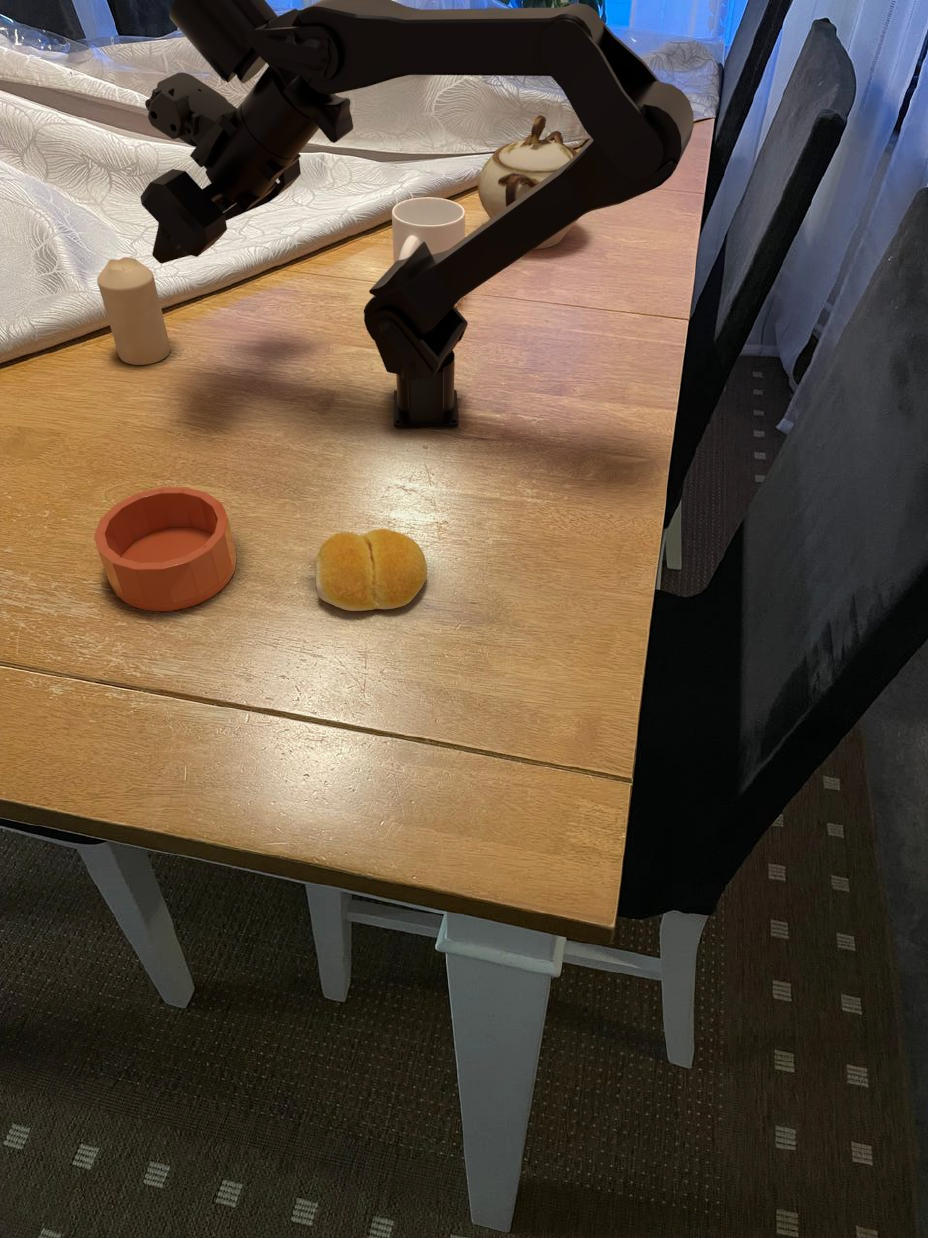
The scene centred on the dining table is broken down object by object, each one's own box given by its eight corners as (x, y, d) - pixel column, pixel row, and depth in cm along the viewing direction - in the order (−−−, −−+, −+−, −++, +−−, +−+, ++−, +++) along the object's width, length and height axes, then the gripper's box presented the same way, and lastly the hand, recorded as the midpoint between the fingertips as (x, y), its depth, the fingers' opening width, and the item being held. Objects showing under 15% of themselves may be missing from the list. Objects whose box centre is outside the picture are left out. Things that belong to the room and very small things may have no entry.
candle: (144, 370, 93) (119, 279, 86) (107, 356, 95) (80, 265, 88) (181, 349, 96) (161, 259, 89) (145, 335, 98) (122, 246, 91)
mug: (433, 334, 100) (433, 244, 92) (369, 319, 102) (363, 230, 95) (473, 291, 108) (476, 204, 100) (412, 278, 110) (410, 192, 102)
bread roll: (433, 610, 69) (433, 573, 66) (319, 621, 68) (313, 584, 65) (420, 541, 75) (419, 504, 72) (314, 551, 74) (309, 514, 71)
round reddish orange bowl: (227, 610, 69) (216, 568, 65) (97, 612, 68) (80, 570, 65) (243, 528, 76) (234, 486, 72) (125, 529, 75) (111, 487, 72)
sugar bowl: (560, 275, 111) (573, 148, 100) (452, 254, 115) (453, 128, 104) (604, 219, 124) (619, 100, 113) (505, 201, 128) (511, 85, 117)
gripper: (253, 17, 77) (171, 137, 88) (131, 72, 65) (53, 204, 75) (342, 126, 81) (254, 229, 92) (243, 197, 69) (154, 307, 79)
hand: (183, 239), depth 84 cm, fingers open, 9 cm apart
